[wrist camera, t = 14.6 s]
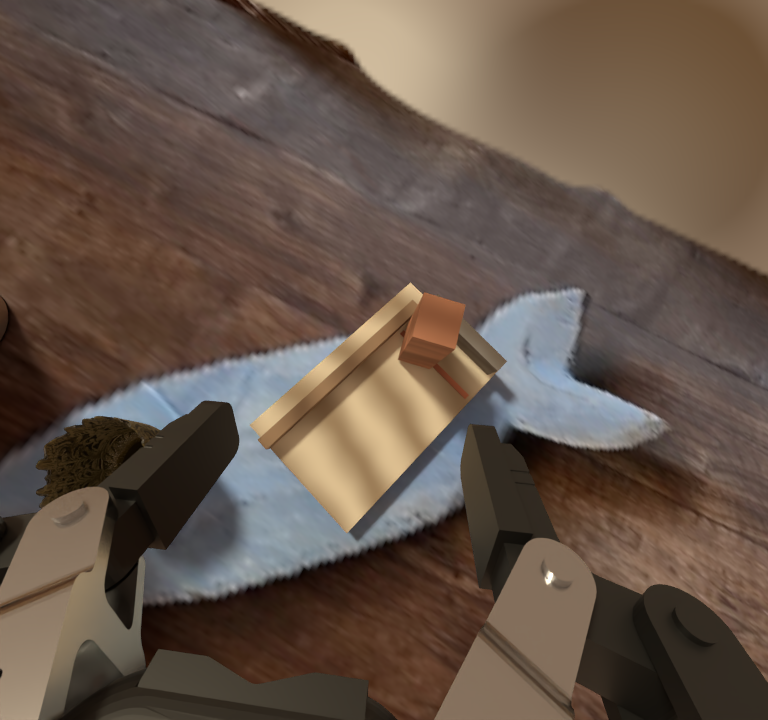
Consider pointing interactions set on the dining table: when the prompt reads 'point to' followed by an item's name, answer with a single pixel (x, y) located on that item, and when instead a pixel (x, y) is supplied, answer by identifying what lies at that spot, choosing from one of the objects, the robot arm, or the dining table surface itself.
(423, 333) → the tall copper-brown prism
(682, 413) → the dining table surface
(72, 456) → the olive rounded hollow piece
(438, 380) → the birch board
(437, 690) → the dining table surface
